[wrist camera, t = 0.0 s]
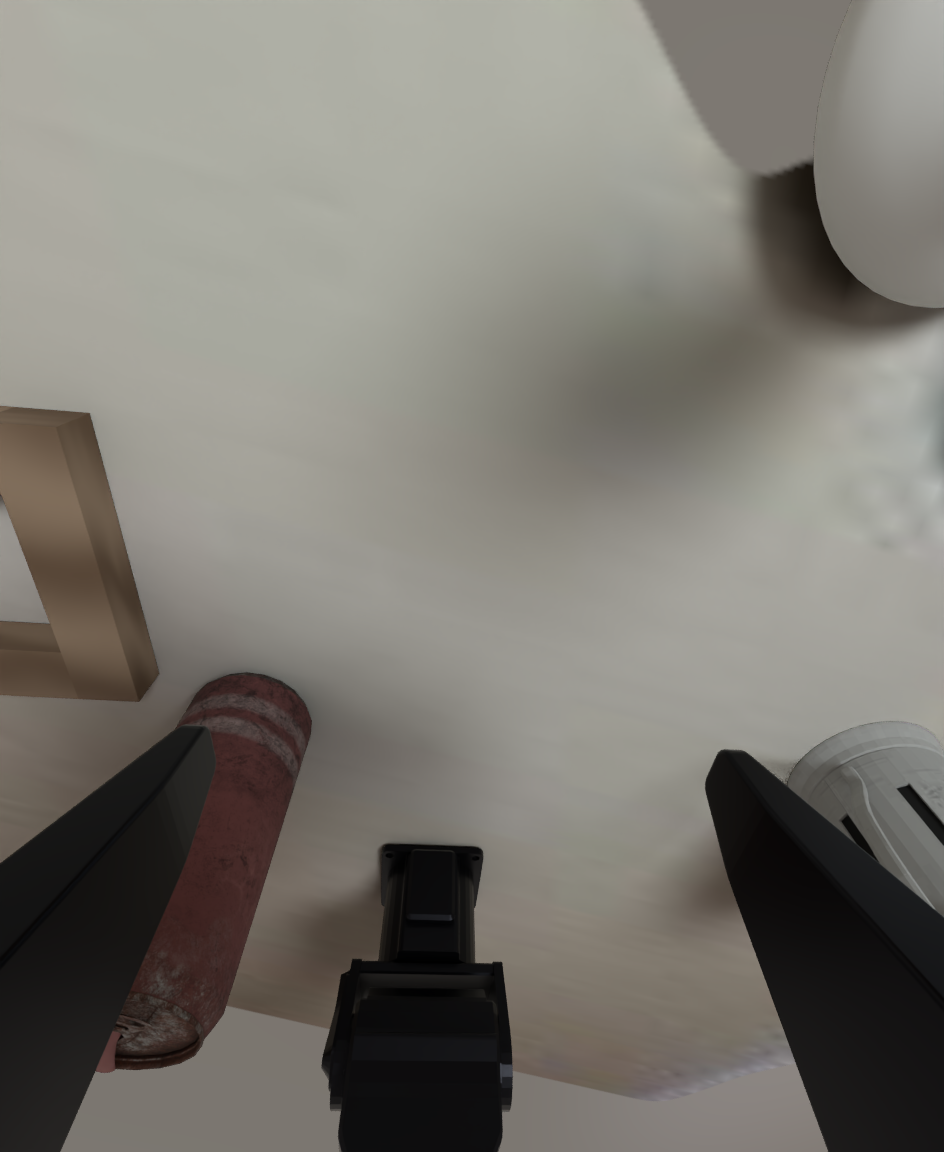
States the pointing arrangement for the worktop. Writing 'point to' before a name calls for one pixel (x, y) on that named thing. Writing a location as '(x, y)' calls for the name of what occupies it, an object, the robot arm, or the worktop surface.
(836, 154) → the flower in vase
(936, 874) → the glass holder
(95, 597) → the socket block
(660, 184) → the worktop surface
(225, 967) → the can
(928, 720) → the worktop surface
